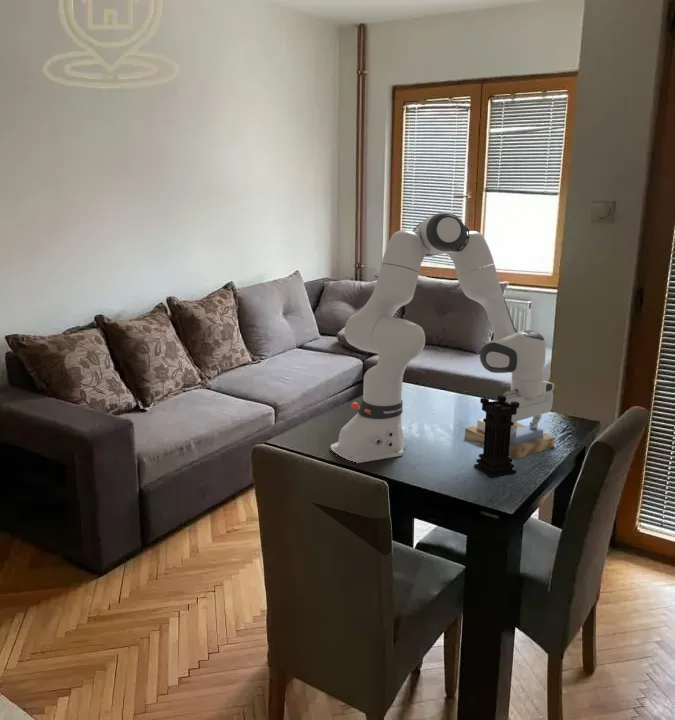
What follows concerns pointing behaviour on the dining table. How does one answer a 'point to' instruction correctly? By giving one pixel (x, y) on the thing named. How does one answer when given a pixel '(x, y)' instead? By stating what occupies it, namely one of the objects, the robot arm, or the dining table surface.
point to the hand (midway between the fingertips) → (523, 431)
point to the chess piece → (497, 438)
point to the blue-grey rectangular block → (525, 435)
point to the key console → (515, 450)
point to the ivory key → (482, 425)
